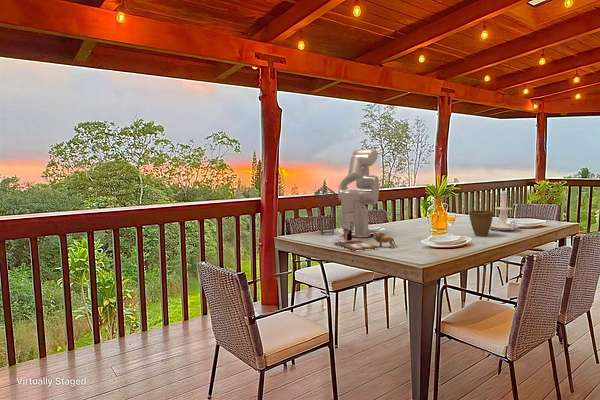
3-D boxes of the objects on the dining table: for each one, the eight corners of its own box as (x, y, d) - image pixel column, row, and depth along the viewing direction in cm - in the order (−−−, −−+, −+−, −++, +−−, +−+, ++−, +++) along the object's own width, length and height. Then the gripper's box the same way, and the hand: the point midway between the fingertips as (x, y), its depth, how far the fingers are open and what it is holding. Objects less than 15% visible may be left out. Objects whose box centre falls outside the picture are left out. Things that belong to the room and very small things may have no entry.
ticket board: (356, 241, 263) (356, 238, 263) (377, 249, 241) (377, 245, 241) (334, 244, 257) (334, 241, 256) (354, 252, 235) (354, 248, 234)
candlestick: (500, 234, 274) (501, 192, 271) (481, 228, 298) (482, 190, 295) (529, 232, 275) (530, 191, 272) (508, 226, 300) (509, 189, 297)
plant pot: (488, 233, 278) (488, 210, 276) (496, 237, 263) (497, 213, 262) (465, 233, 280) (466, 210, 278) (472, 237, 265) (473, 213, 263)
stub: (354, 239, 262) (354, 229, 261) (358, 240, 257) (358, 230, 256) (337, 241, 257) (337, 231, 256) (341, 242, 252) (341, 232, 252)
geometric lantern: (338, 235, 287) (336, 186, 283) (316, 236, 288) (313, 187, 284) (337, 231, 303) (334, 184, 299) (316, 232, 303) (313, 185, 299)
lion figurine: (372, 247, 245) (372, 232, 244) (374, 245, 250) (374, 231, 249) (397, 248, 240) (397, 233, 239) (398, 247, 245) (398, 232, 244)
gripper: (335, 209, 261) (336, 237, 263) (348, 212, 246) (349, 242, 248) (346, 208, 264) (346, 236, 266) (359, 211, 249) (359, 240, 251)
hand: (347, 239), depth 257 cm, fingers closed on stub, 3 cm apart
